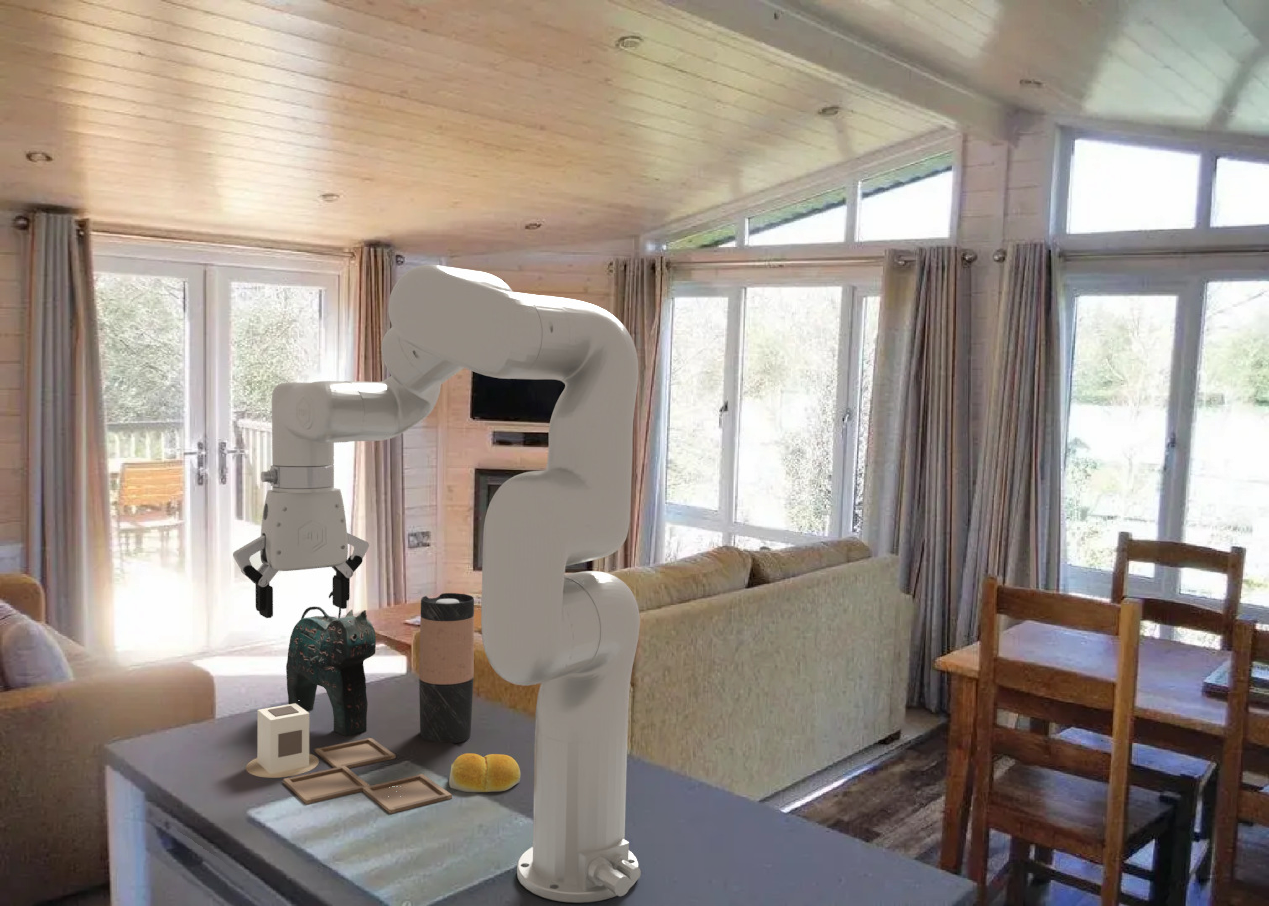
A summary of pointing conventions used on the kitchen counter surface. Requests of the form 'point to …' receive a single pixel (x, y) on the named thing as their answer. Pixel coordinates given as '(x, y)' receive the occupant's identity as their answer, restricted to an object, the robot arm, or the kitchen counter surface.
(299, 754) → the white box with panels
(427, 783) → the tray
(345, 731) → the ceramic cat
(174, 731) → the kitchen counter surface
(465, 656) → the travel mug
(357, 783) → the tray
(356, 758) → the tray
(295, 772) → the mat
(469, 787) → the bread roll
